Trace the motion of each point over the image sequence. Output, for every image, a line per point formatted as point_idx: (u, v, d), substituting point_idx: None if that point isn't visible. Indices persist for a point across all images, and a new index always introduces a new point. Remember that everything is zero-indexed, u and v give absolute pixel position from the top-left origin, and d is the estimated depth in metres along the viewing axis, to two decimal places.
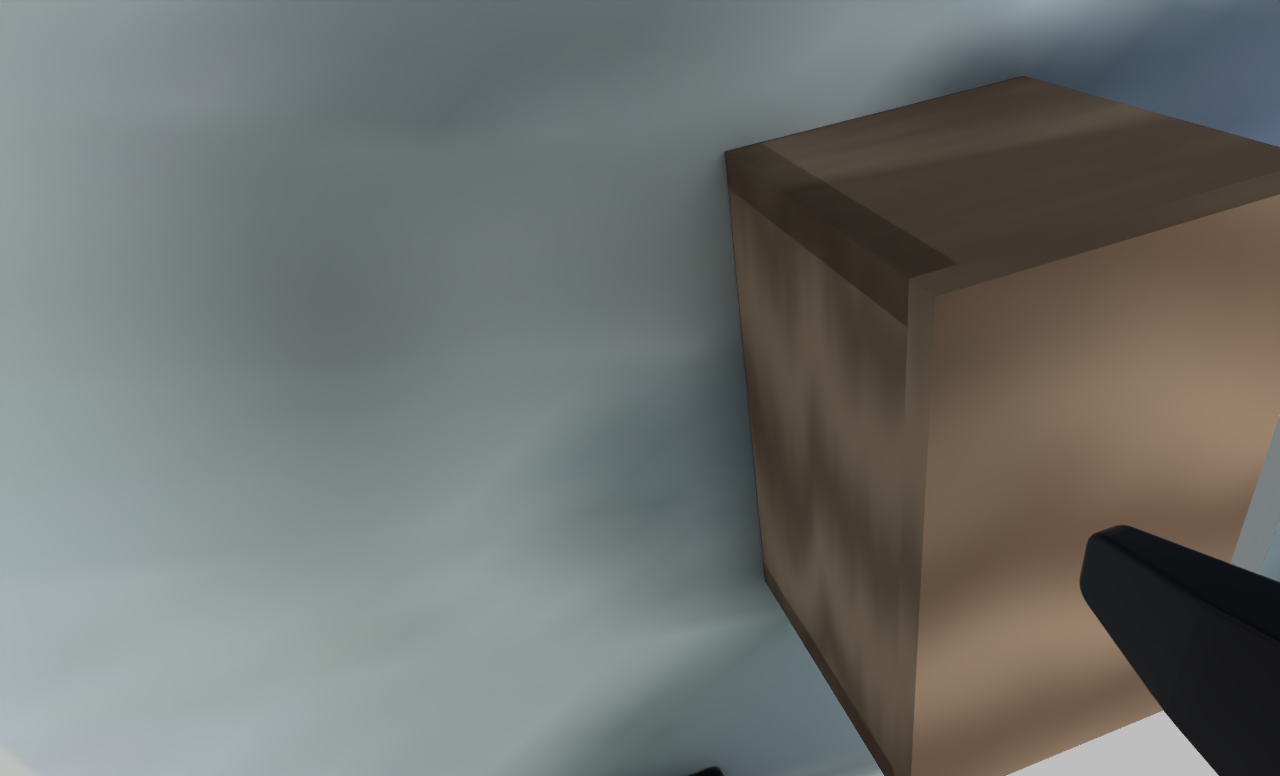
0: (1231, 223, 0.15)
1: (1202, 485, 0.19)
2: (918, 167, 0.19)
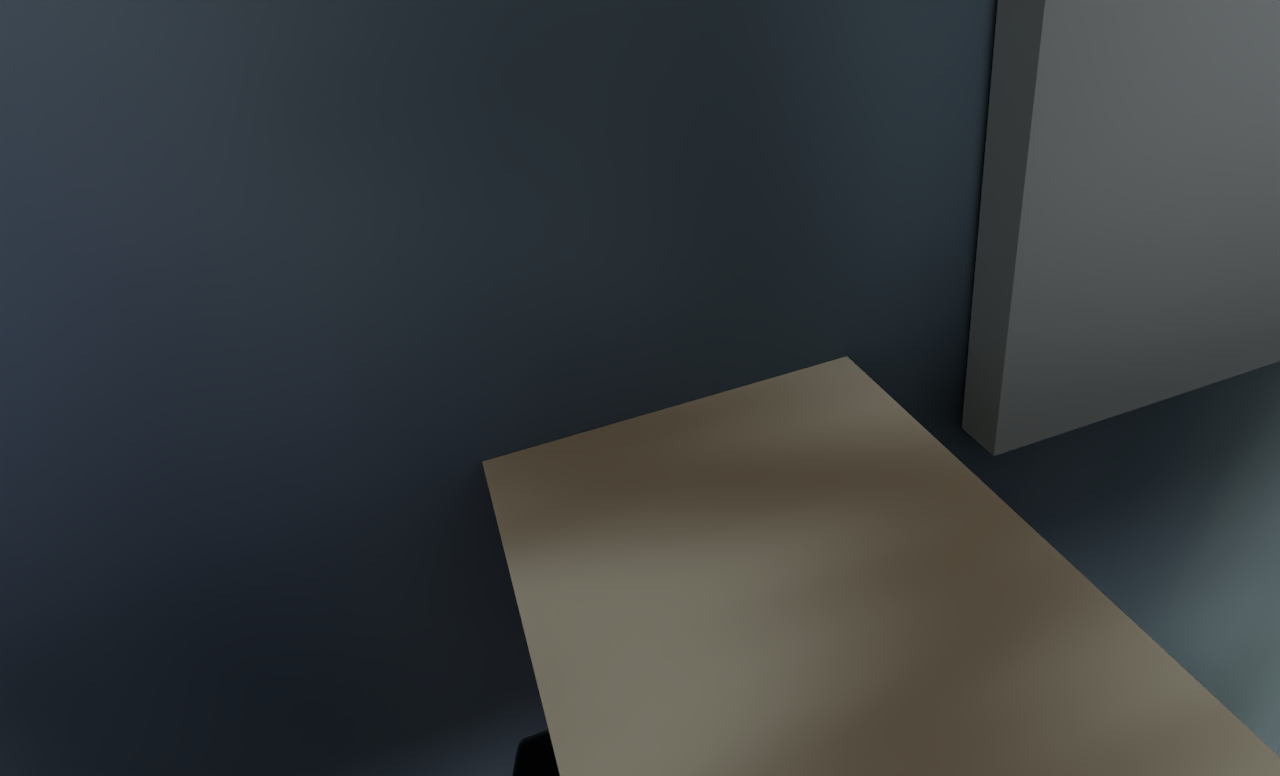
0: None
1: None
2: None
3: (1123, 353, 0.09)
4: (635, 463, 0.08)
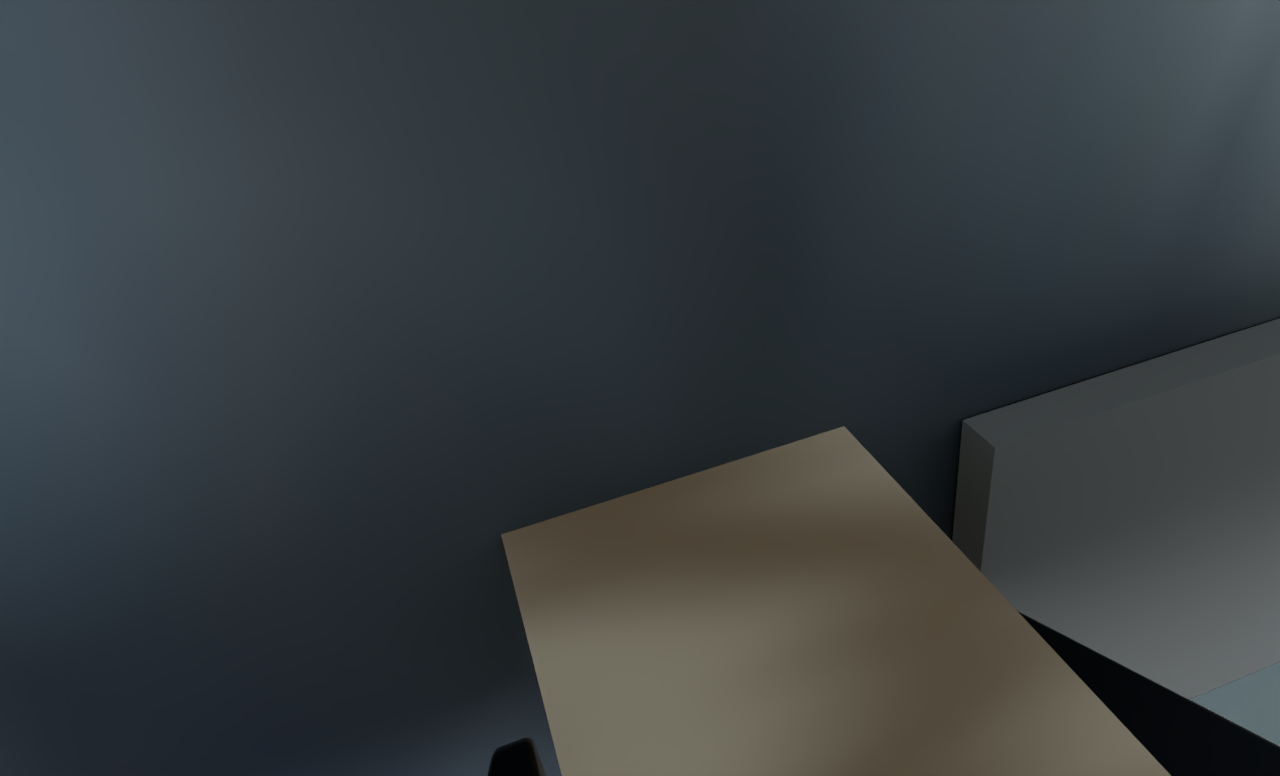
0: None
1: None
2: None
3: None
4: (640, 526, 0.09)
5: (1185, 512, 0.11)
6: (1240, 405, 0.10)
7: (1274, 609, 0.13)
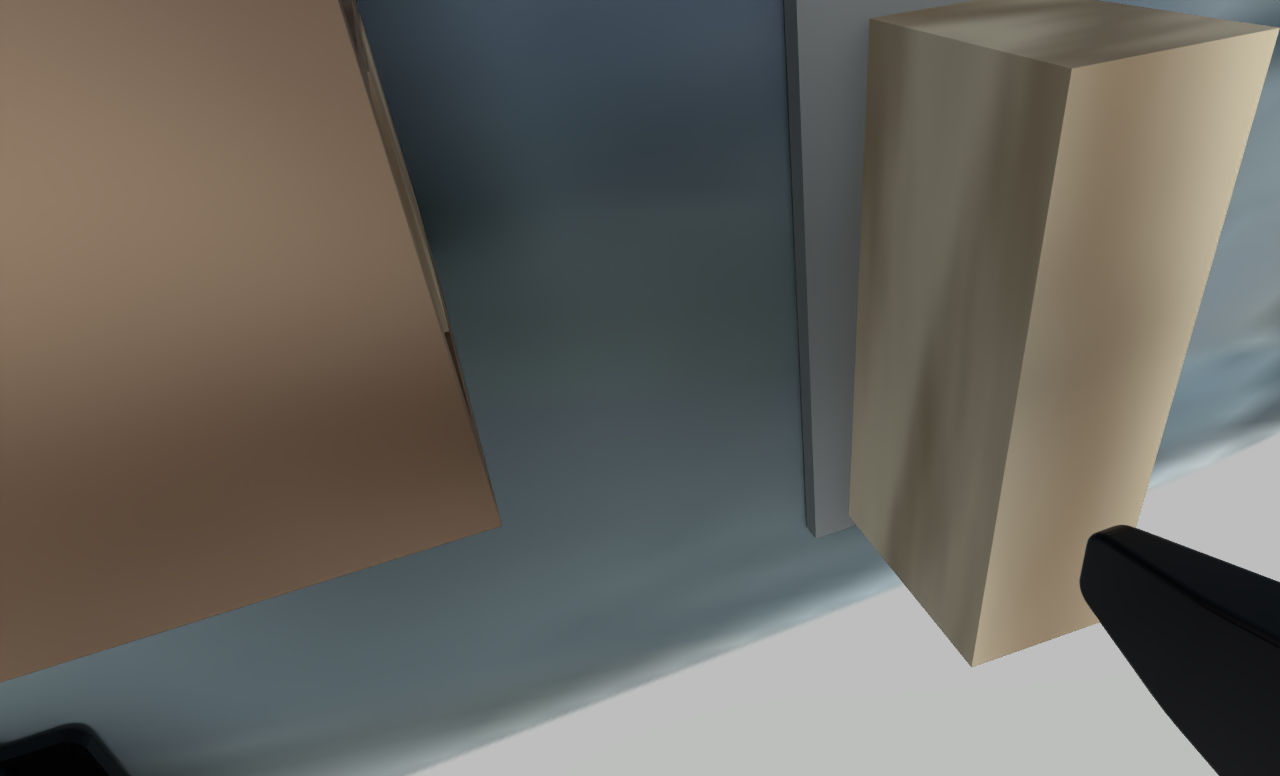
0: None
1: None
2: None
3: (835, 28, 0.18)
4: (947, 12, 0.18)
5: None
6: None
7: None
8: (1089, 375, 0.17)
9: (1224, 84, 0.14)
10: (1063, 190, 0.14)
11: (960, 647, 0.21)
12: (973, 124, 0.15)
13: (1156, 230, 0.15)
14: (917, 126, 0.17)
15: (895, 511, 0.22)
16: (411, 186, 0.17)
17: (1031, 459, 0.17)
